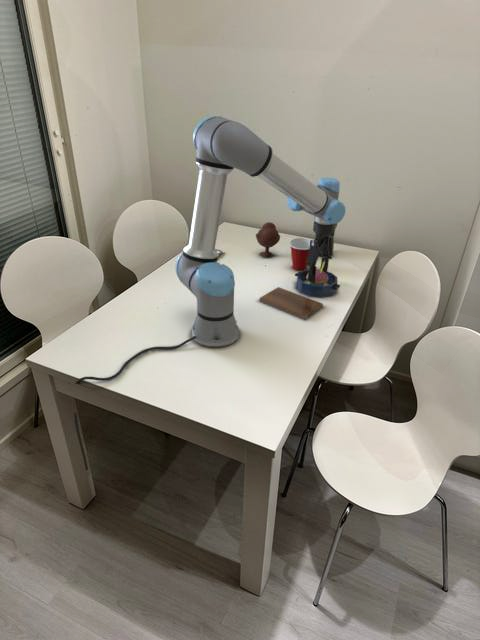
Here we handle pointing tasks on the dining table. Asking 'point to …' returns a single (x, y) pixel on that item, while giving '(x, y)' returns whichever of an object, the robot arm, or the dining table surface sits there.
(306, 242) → the plastic cup
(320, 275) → the cupcake
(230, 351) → the dining table surface
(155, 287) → the dining table surface
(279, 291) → the cutting board
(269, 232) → the ice cream bowl
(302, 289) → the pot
